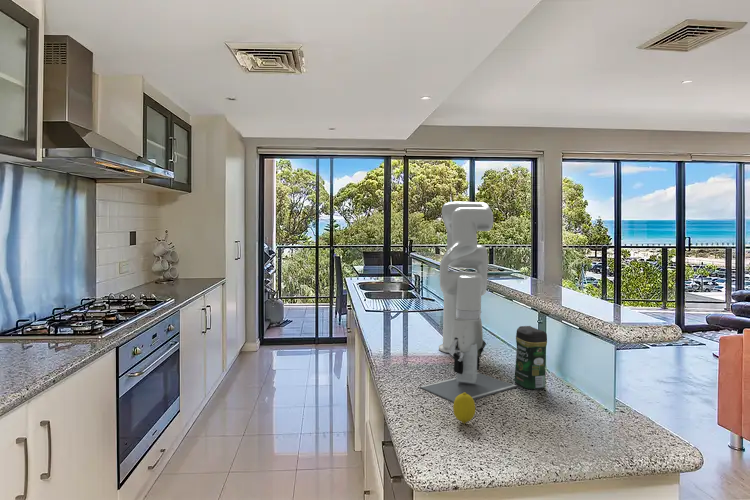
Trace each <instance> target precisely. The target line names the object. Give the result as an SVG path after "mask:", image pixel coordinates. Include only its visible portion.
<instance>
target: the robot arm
mask: <svg viewBox="0 0 750 500" xmlns="http://www.w3.org/2000/svg"><path fill="white" fill-rule="evenodd" d="M441 217H442V221H443V223H444V227H445V231H446V235H447V236H446V237H447V238H446V252H445V253H444V255H443V256H442V259H441V261H440V265H439V287H440V290H441V291H442V295H443V296H442V297H443V316H442V317H443V321H442V324H443V325H442V344H440V345H438V350H439V351H440V352H442V353H445V354H450V356H451V357H452V359H453V361H454V363H453V364H454V365H453V372H454V373H459V374H463V361H462V358H463V355H464V352H468V351H470V348H471V345H474V344H477V371H479V370H480V358H481V357H482V353H483V352H484V349H485V347H486V345H487V343H486V341H484V339H483V338H484V337H483V335H484V334H483V324H482V323H483V322H482V318H481V317H482V316H481V315H482V296H485V294H486V293H487V288H488V266H489V256H488V250H487V248H486V247H485V246H484V245H481V244H478V238H477V237H478V235H477V234H478V233H477V232H489V231H491V230H492V229H493V226H494V214H493V211H492V209H491V207H490V206H489V204H488V203H486V202H480V201H450V202H446V203H444V204H443V205H442V207H441ZM449 267H450V268H452V269H457V270H458V269H460V270H463V269H464V270H475V271H449ZM458 348H460V350H458ZM458 352H459V353H460V354H459V356H458Z"/></svg>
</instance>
